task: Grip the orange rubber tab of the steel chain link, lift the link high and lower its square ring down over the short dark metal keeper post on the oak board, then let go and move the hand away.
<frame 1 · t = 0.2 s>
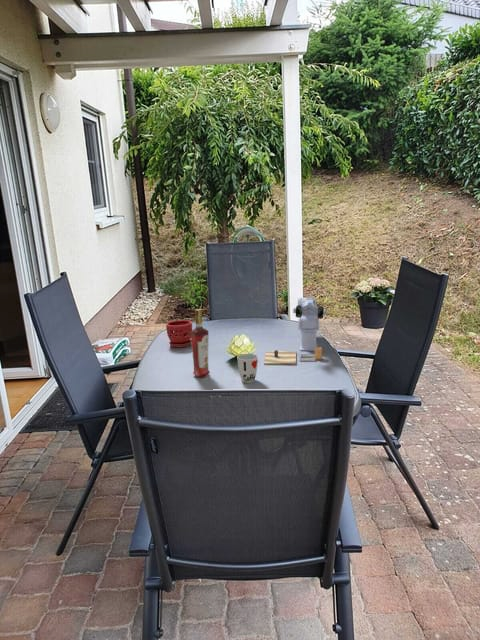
hand: (310, 314, 208), 21 cm above the table, tool horizontal, fingers open, 7 cm apart
plant pot: (180, 345, 244), on the table
cup: (248, 380, 191), on the table
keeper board: (280, 358, 217), on the table
liquor: (201, 376, 198), on the table
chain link: (307, 358, 216), on the table
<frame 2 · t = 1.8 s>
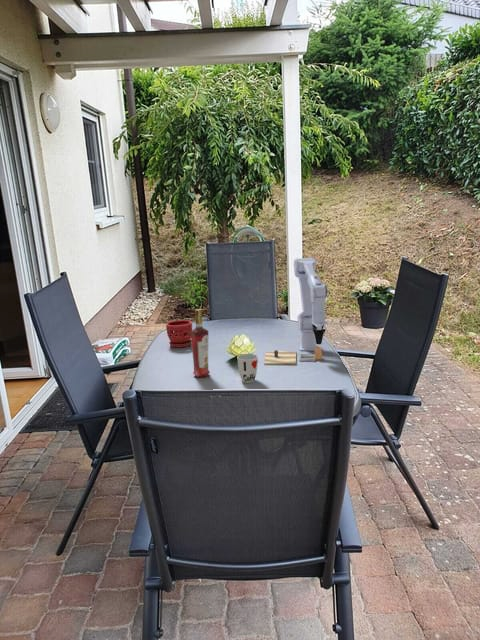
hand: (318, 341, 213), 8 cm above the table, tool pointing down, fingers open, 7 cm apart
nothing on the table moved.
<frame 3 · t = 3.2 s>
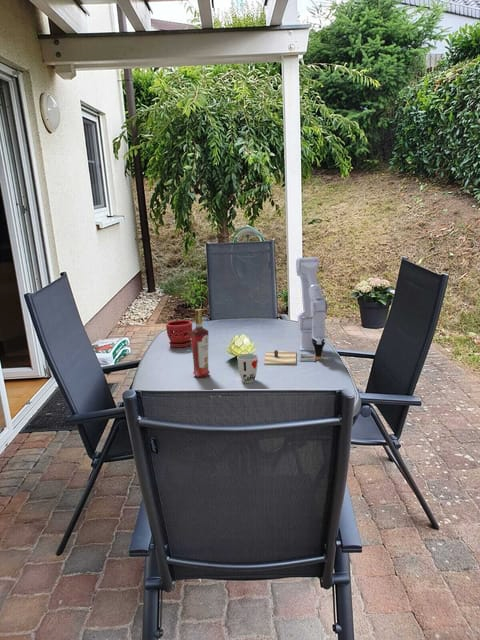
hand: (318, 355, 215), 2 cm above the table, tool pointing down, fingers closed on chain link, 3 cm apart
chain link: (307, 358, 216), on the table, touching gripper
everything else where it was.
when the fingers open (4 cm above the table, at t = 8.3 s): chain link drops 1 cm, resting on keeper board.
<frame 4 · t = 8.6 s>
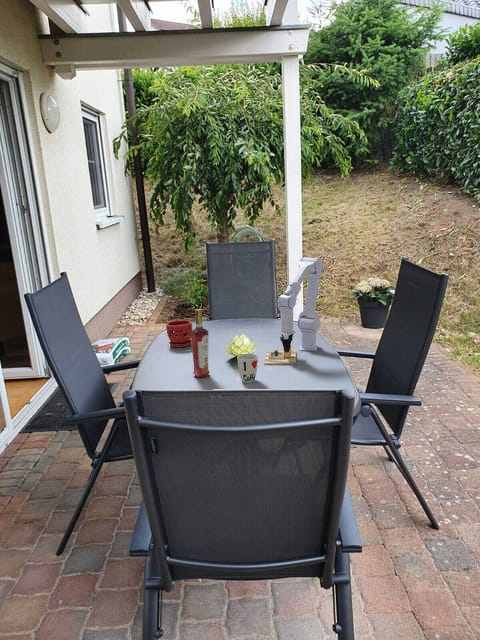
hand: (287, 350, 216), 4 cm above the table, tool pointing down, fingers open, 5 cm apart
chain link: (276, 356, 217), point 1 cm above the table, touching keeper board
everything else where it was.
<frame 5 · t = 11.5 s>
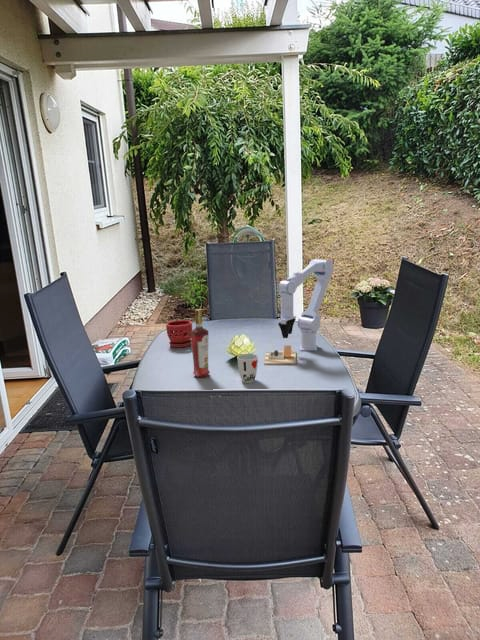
hand: (287, 335, 220), 9 cm above the table, tool pointing down, fingers open, 7 cm apart
nothing on the table moved.
at the end: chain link 0.3 cm from the target spot on the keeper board, point 0.8 cm above the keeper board's base; the gripper is holding nothing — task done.
